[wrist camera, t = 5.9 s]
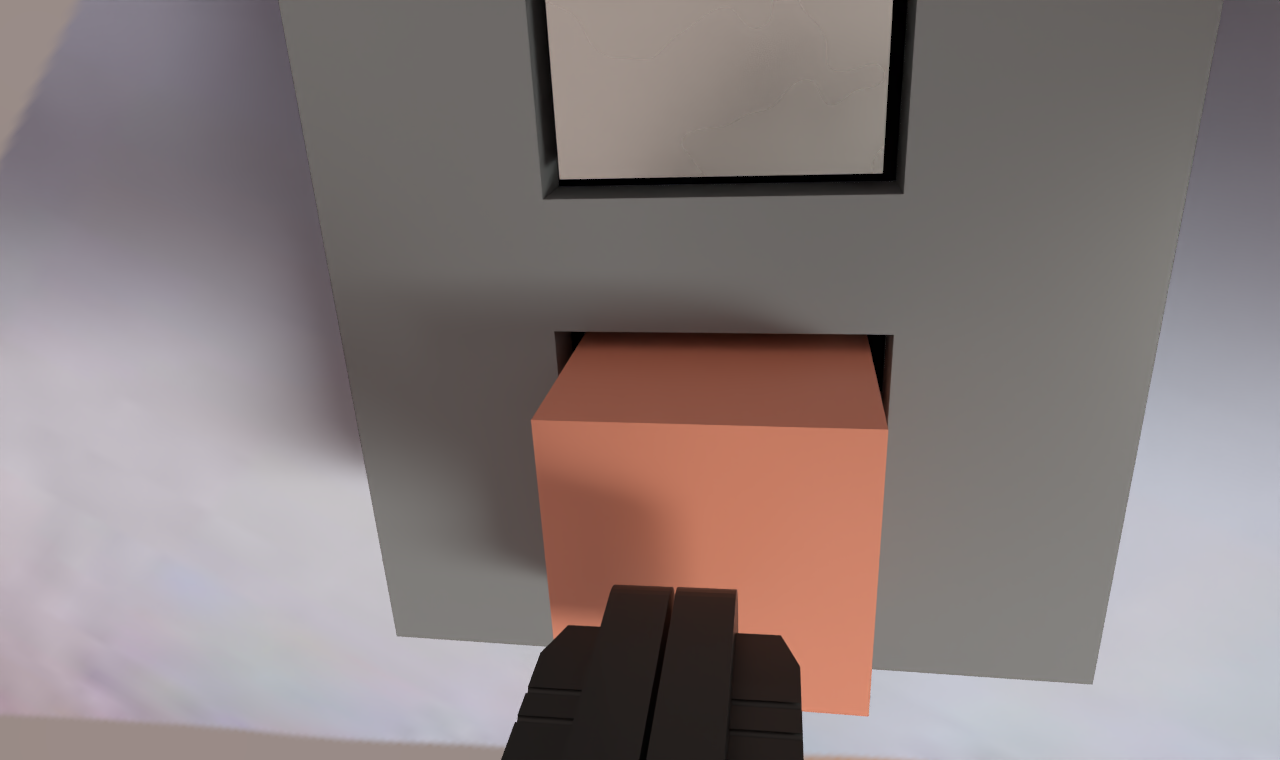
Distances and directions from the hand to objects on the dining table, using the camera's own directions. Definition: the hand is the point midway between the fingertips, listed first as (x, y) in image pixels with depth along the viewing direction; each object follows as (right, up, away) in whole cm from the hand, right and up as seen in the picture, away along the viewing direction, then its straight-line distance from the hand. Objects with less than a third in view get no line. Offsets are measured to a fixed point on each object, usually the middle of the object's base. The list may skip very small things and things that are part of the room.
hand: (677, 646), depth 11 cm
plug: (+1, +10, +5) cm, 11 cm away
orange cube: (+1, +2, +5) cm, 6 cm away
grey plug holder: (+1, +7, +6) cm, 9 cm away
